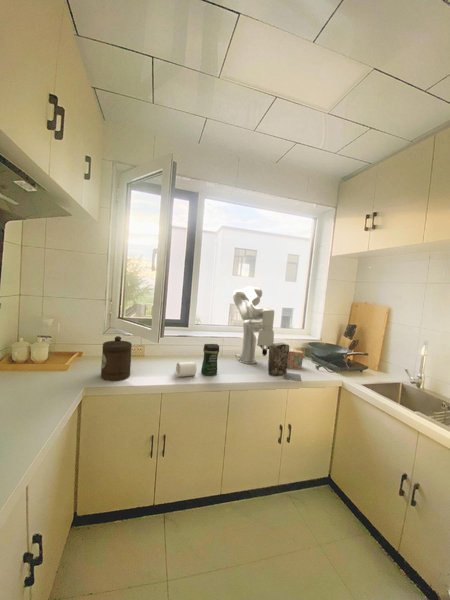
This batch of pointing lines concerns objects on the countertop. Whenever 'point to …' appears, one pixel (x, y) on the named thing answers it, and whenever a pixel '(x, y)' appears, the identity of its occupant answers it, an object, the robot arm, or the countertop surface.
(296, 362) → the stack of blocks
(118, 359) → the wooden container
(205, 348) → the coffee jar
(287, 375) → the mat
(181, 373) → the mug
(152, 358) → the countertop surface
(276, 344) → the stone block
